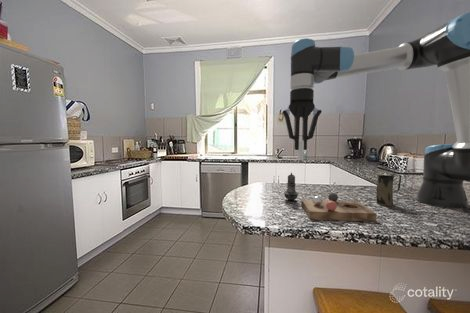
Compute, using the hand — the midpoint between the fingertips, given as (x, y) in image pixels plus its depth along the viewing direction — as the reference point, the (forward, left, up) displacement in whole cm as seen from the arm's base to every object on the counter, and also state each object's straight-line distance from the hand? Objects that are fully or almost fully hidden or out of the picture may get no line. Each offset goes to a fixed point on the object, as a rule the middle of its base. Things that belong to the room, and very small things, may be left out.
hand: (300, 159), depth 77 cm
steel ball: (-6, 0, -14) cm, 16 cm away
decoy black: (-13, -6, -14) cm, 20 cm away
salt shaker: (+1, -13, -19) cm, 23 cm away
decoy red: (-9, +5, -14) cm, 18 cm away
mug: (-36, -13, -19) cm, 43 cm away
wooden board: (-12, 0, -18) cm, 22 cm away
